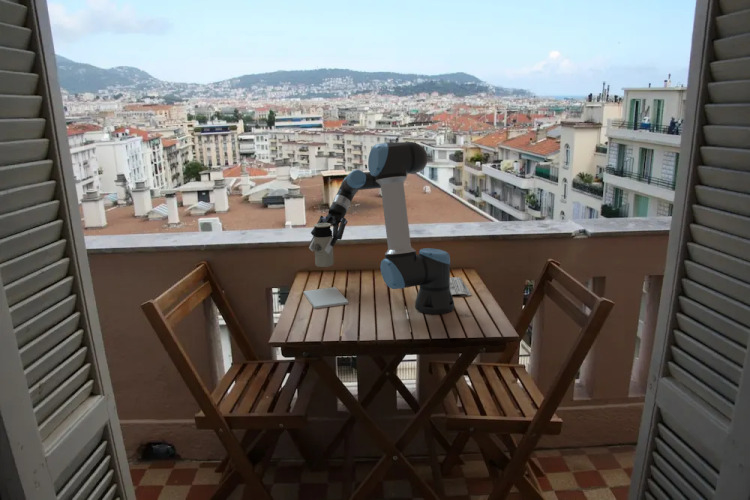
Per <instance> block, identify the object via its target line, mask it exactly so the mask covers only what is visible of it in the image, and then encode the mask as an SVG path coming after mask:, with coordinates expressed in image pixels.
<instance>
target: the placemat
mask: <svg viewBox="0 0 750 500" xmlns="http://www.w3.org/2000/svg"><path fill="white" fill-rule="evenodd" d="M303 294H304V296H305V298H306V299H307V300H308V302H309V303H310V305H311V306H312V307H313V309H315V310H317V309H322V308H330V307H337V306H344V305H349V301H348V299H347V298H346V297H345V296H344V295H343V294H342V293H341V292H340V290H339V289H338V288H337V287H336V286H333V287H325V288H318V289H317V288H316V289H311V290H304V291H303Z"/></svg>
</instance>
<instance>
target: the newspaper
mask: <svg viewBox="0 0 750 500" xmlns="http://www.w3.org/2000/svg"><path fill="white" fill-rule="evenodd" d="M450 291H451V295H452V296H453V295H459V296H460V297H463V298H465V297H468V296H472V293H471V291H470V290H469V288H468V286H467V285H466V284H465V282H463V278H461V277H459V276H458V277H455V276H453V277H450Z"/></svg>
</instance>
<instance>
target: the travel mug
mask: <svg viewBox="0 0 750 500" xmlns="http://www.w3.org/2000/svg"><path fill="white" fill-rule="evenodd" d="M314 227H315V230H314V260H315V263H314V264H315V266H316V267H318V268H319V267H320V268H326V267H331V266H333V265H334V264H335V263H334V246H332V248H331V250H330V253H329V254H328V253H327V252H326V251H325V248H326V246H327V244H328V242H329V240H330V238H331V237H332V236H333V230H332V229H331V227H332V226H331V224H330V223H318V222H317V223H314V224H313V228H314ZM332 238H333V237H332Z"/></svg>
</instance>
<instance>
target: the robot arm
mask: <svg viewBox="0 0 750 500" xmlns="http://www.w3.org/2000/svg"><path fill="white" fill-rule="evenodd" d="M428 160H429V159H428V153H427V150H426V149H425V147H424V146H422V145H421V144H420V143H417V142H414V141H405V142H403V141H402V142H401V141H400V142H399V141H398V142H382V143H376V144H375V145H373V146H372V147H371V149H370V152H369V155H368V161H367V162H368V163H367V169H368V171H366V172H365V171H363V170H361V169H353V170H351V172H350V173H349V174H348V175H347V176H345V177H344V179H343V180H342V182H341V184H340V186H339V189H338V191H337V193H336V195H335V196H334V199H332V203H331V204H330V207H329V209H328V213H327V215H326V216H323V215H320V216H319V219H318V221H317V223H330V224H331V226H330V227H332V237H331V238H330V240H329V242H328V244H327V246H326V248H325V251H326V252H327V253H328V254H329V253H330V250H331V248H332V246H333V247H334V246H335V245H336V242H337V241H338V240H339V241H341V240H342V238H343V235H344V231H345V229H346V225H347V224H348V220H347V218H346V217H345V216H346V214H347V213H348V212H347V211H348V209H349V208H350V206H351V204H352V202H353V199H354V197H355V195H356V194H357V193H358V191H364V190H372V189H373V190H374V189H380V192H381V198H382V209H383V217H384V227H385V235H386V241H387V242H386V243H387V251H385V253H384V258H383V259H382V260H381V262H380V273H381V276H382V277H381V278H382V279H383V282H384V283H385V285H386V286H387V287H388V288H390V289H391V290H398V289H399V290H400V289H402V290H404V289H405V288H410V287H417V286H419V289H418V292H417V294H416V298H415V301H414V308H415V310H416V311H418V312H419V313H422V314H428V315H444V314H447V313H451V312H452V311H454V309H455V301H454V299H453V295H451V291H450V278H451V265H452V264H451V258H450V257H451V256H450V253H449V252H447V251H445V250H442V249H437V248H429V247H427V248H421V249H419V252H418V254H417V250H416V249H415V248H413V247H412V243H411V236H410V235H411V234H410V228H409V219H408V218H409V217H408V210H407V209H408V208H407V201H406V192H405V184H404V183H405V181H406V180H407V178H408V175H410V174H411V175H416V174H417V173H419V172H421V171H423V170H424V169H425V168H426V167H427V163H428ZM314 230H315V227H314V226H313V229H312V230H311V232H310V234H311V235H312V238H311V241H310V245H309V247H308V249H309V250H310V251H311V252H315V249H314Z"/></svg>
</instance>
